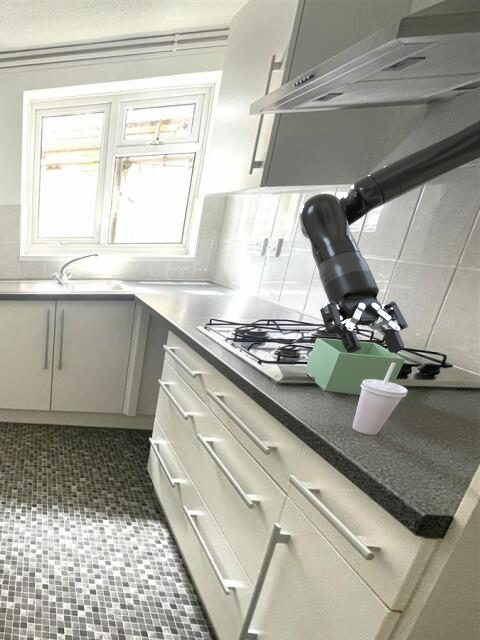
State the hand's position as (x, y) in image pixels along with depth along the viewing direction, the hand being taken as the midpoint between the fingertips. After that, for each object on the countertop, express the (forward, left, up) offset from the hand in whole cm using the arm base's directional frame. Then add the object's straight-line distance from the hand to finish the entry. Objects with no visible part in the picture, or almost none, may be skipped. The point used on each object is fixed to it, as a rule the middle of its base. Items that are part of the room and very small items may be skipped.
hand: (376, 351), depth 80 cm
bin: (-8, -22, -15) cm, 28 cm away
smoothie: (-1, +4, -15) cm, 16 cm away
